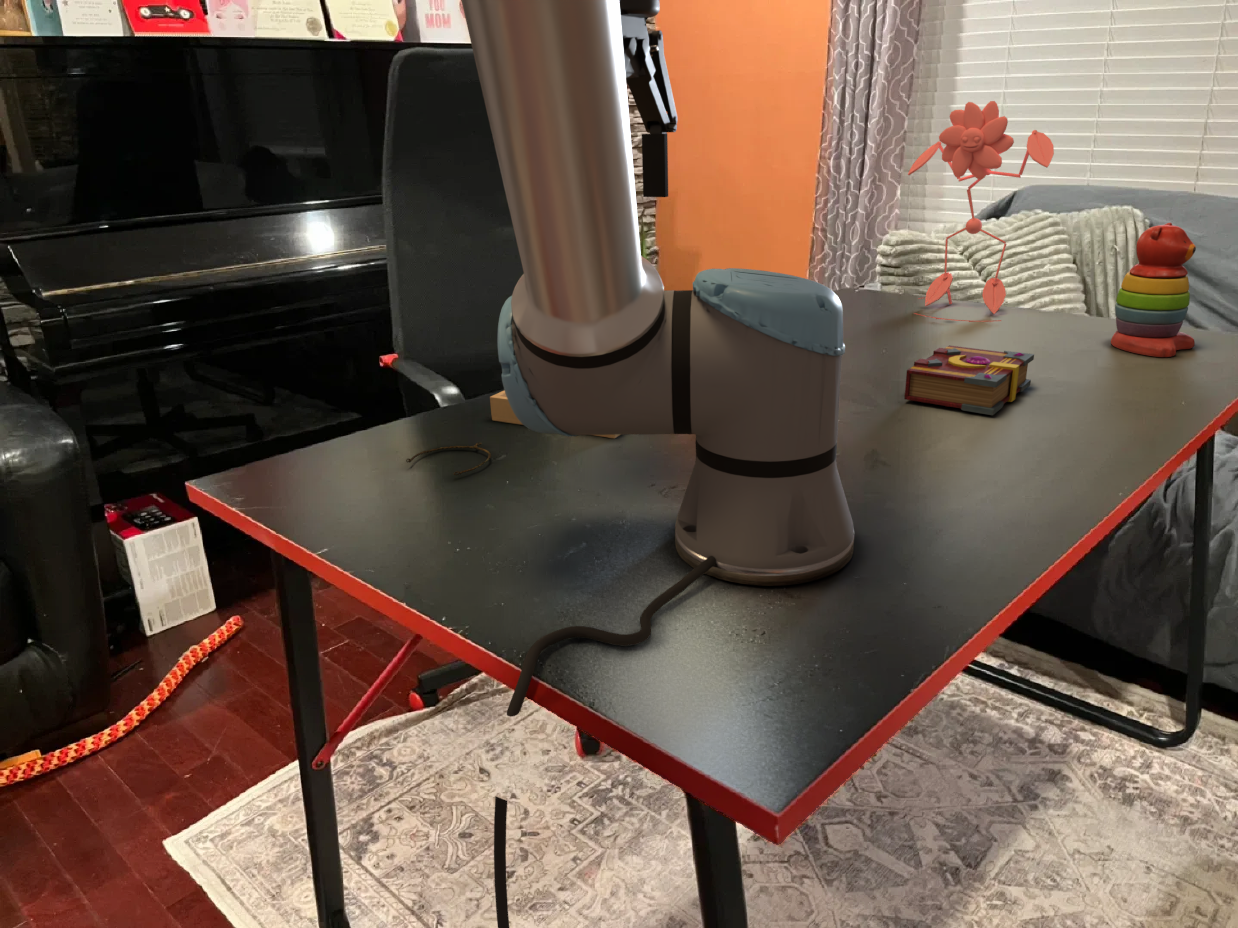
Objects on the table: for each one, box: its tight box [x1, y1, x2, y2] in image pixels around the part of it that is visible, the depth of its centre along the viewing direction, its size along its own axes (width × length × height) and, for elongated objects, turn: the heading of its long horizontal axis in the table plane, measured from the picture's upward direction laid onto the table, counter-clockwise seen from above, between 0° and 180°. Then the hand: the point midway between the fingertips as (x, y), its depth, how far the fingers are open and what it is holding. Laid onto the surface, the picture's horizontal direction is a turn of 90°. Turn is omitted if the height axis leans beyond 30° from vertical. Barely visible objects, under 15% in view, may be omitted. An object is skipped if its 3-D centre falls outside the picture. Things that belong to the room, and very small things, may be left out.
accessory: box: [405, 441, 492, 476], centre depth 101 cm, size 9×9×1 cm
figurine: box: [907, 100, 1055, 323], centre depth 155 cm, size 15×26×35 cm, turn 43°
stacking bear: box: [1110, 222, 1197, 358], centre depth 133 cm, size 11×10×18 cm
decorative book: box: [904, 345, 1035, 416], centre depth 116 cm, size 11×16×5 cm
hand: (626, 203), depth 94 cm, fingers open, 13 cm apart
